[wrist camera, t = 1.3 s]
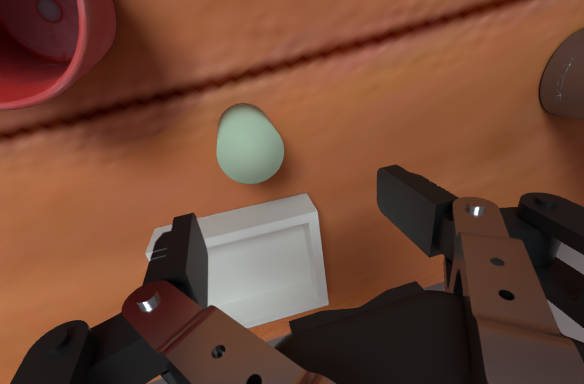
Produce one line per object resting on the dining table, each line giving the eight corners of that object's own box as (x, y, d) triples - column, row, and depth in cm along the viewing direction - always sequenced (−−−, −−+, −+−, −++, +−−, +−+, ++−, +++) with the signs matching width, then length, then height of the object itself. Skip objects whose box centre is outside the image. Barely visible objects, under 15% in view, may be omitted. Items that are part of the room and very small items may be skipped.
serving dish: (306, 192, 31) (317, 211, 27) (318, 280, 37) (328, 304, 33) (154, 228, 29) (145, 253, 25) (193, 314, 35) (190, 344, 31)
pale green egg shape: (264, 98, 26) (278, 113, 20) (274, 148, 28) (288, 176, 22) (211, 108, 25) (208, 127, 19) (225, 159, 27) (226, 190, 21)
